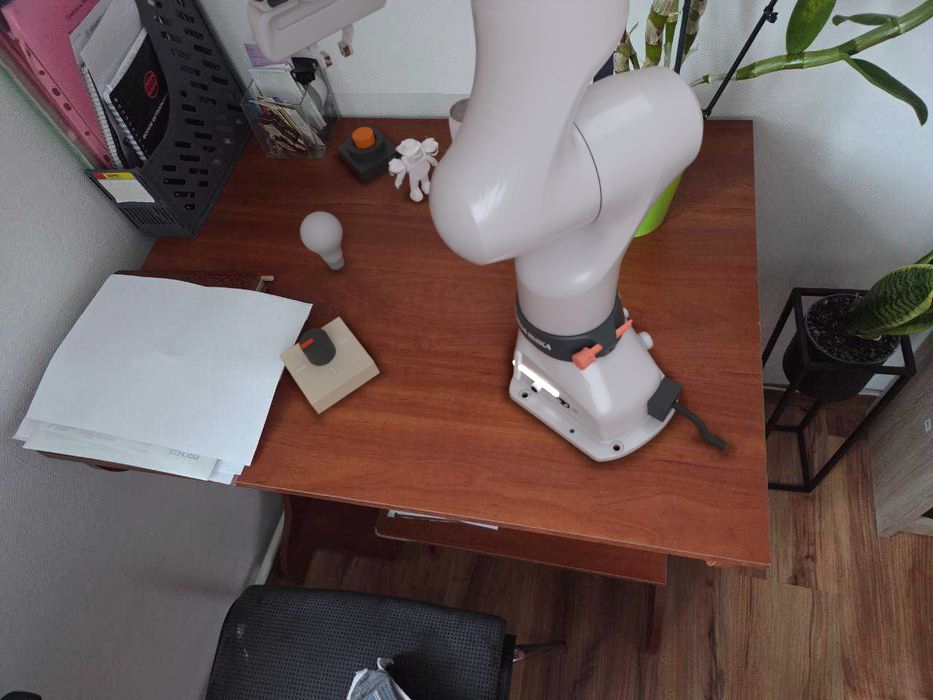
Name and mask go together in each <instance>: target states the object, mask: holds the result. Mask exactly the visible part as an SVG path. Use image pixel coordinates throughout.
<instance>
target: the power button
mask: <svg viewBox="0 0 933 700" xmlns="http://www.w3.org/2000/svg"><path fill="white" fill-rule="evenodd" d="M352 133H353V134H352ZM352 133H351V134H352V137H353V140H354V143H355V145H356V147H357V148H361V149H363V148H368V147H370V146H371V145H373V144H374V143H375V137H374V134H373V131H372V129H371V127H370V128H369V126H361V127H358V128H356V129H355V130H354V131H353V132H352Z"/></svg>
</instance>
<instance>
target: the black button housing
mask: <svg viewBox="0 0 933 700" xmlns="http://www.w3.org/2000/svg"><path fill="white" fill-rule="evenodd" d="M368 127H369V126H368ZM369 128H371V129H372V131H373V134H374V137H375V143H374V144H373V145H371V146H370V147H368V148H363V149H361V148H357V147H356V145H355V143H354V140H353V137H352V134H353V132H352V133H351V134H350V135H349V136H348V138H347V139H346V141H344V142H343V143H340V144H339V145H337V146H336V150H337V154H338V156H339V157H340V159H341V160H342V161H343V162H344V164H346V165H347V166H348V167H349V168H350V169H351V170H352V171H353V172H354V173H355V174H356V175H357V176H358V177H359V179H361V180H362V181H363V183H365V182H367V181H369V180H370V179H372V178H373V177H376V176H377V175H379V174H380V173H382V172H384V171H386V170H387V169H389V166H390V165H389V164H388V163H389V162H390V161H392V159H394V158H395V159H400V160H401V157H402V156H403V155H402V154H400V153H399V152H398V151H397V150H398V149H397V150H396V148H398V147H397V146H396V145H395V144H394V143H393V142H392V141H391V140H389V139H388V137H386V136H385V134H384V133H383V132H382V131H381V130H380V129H378V128H377V127H375V126H374V125H371V127H369ZM390 158H391V159H390Z"/></svg>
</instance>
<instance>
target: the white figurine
mask: <svg viewBox="0 0 933 700" xmlns="http://www.w3.org/2000/svg"><path fill="white" fill-rule="evenodd" d="M396 147H397V148H396V150H397V149H398V150H397V151H398V152H399V153H400V154H401V156H402V157H401V160H400V159H395V158H394V159H392V161H390V162H389V163H388V164H389V165H390V166H389V168H388V172H389V174H390V176H393V177H394V175H395V174H396V178H395V180H394V186H395V187H396V189H400V187H401V186H402V184H403V180H404V178H405V176H406V174H407V173H408V176H409V178H408V179H409V188H410V193H409V197H410V199H411V200H413V201H414V202H420V201H422V200H423V199H424V195H423V194H425V195H429V188H430V182H431V180H429V175H428V174H429V171H430V169H431V166H433V167H434V168H435V167H436V165H437V164H438V163H439V162H438V160H437V159H436V158H435V156H437V155H438V153H439V142H437V141H435V138H434V137H428V138H427V137H426V139H424V140H423V141H422V142H420V141H418V140H417V139H414V138H406V139H404V140H401V143H400V144H399V145H398V146H396ZM435 151H436V152H435ZM434 152H435V153H434ZM390 159H391V158H390ZM419 181H420V182H419ZM419 183H421V189H420V186H419ZM422 192H424V193H422Z"/></svg>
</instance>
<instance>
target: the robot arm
mask: <svg viewBox="0 0 933 700" xmlns="http://www.w3.org/2000/svg"><path fill="white" fill-rule="evenodd" d="M469 1H470V11H471V16H472V24H473V33H474V45H475V61H474V73H473V79H472V81H473V82H472V86H471V89H470V95H469V97H468V98H469V102H468V106H467V109H466V112H465V115H464V118H463V121H462V123H461V125H460V128H459V130H458V132H457V135H456V136H455V138H454V140H453V142H452V141H451V144H450V145H449V147H448V149H447V150H446V152H445V153H444V155H443V156H442V158H441V159H440V160H439V161H438V162H437V163H438V164H437V165H436V167H435V166H434V168H433V172H432V175H431V177H430V188H429V194H428V207H429V212H430V217H431V220H432V223H433V225H434V228H435V230H436V232H437V234H438V236H439V237H440V238H441V240H442V242H444V244H445V245H446V247H448V248H449V249H450V250H451V251H452V252H453V253H454V254H456V255H457V256H459V257H460V258H462V259H463V260H466V261H467V262H468V263H471V264H473V265H477V266H487V265H491V264H494V263H500V262H503V261H507V260H511V259H514V271H515V278H516V288H517V289H516V291H515V299H514V301H515V302H514V314H515V317H516V318H515V319H516V322H517V326H518V330H517V337H516V343H515V347H514V350H513V355H512V364H513V365H512V366H513V374H512V378H511V380H510V383H509V386H508V395H509V397H510V399H511V400H512V401H513V402H515V403H517V405H519V406H520V407H522V408H523V409H524V410H525V411H527V412H528V413H530V414H531V415H533V416H534V417H535V418H537V419H538V420H540V421H541V422H542V423H543V424H545V425H546V426H547V427H549V428H550V429H551V430H553V431H554V432H555V433H557V434H558V435H559V436H560V437H562V438H564V440H566V441H568V442H569V443H570V444H572V445H573V446H574V447H576V448H577V449H578V450H580V451H581V452H582V453H584V454H585V455H587V456H588V457H589V458H590V459H592V460H593V461H595V462H601V463H602V462H611V461H614V460H618V459H620V458H623V457H626V456H628V455H630V454H631V453H634V452H635V451H637V450H638V449H640V448H642V447H643V446H645V445H646V444H647V443H648V442H650V441H651V440H652V439H653V438H654V437H656V436H657V435H658V434H659V433H660V432H661V431H662V430H663V429H664V428H665V427H666V426H667V424H668V423H669V422H670V421H671V419H672V417H673V416H674V414H675V412H677V413H678V414H680V415H682V416H683V417H685V418H686V419H687V420H689V421H690V422H691V423H692V424H693V425H695V426H696V428H697V429H698V431H699V434H700V435H701V437H702V438H703V439H704V440H705V441H706V442H707V443H709V444H711V445H712V446H714V447H716V448H718V449H720V450H722V451H723V450H724V449H725V448H726V446H727V445H728V443H727V442H726V441H723V440H721V439H719V438H717V437H715V436H714V435H712V434H711V433H710V432H709V429H708V426H707V425H706V423H705V422H704V421H703V420H702V419H701V418H700V417H699V416H698V415H697V414H695V413H694V412H693V411H692V410H690V409H688V408H687V407H685V405H682V403H680V402H679V398H680V396H681V393H682V390H683V387H684V385H682V384H681V383H678V382H676V381H675V380H673V379H671V378H669V377H667V376H666V375H665V374H664V373H663V371H662V370H661V369H660V367H659V366H658V365H657V363H656V362H655V360H654V359H653V356H651V354H650V352H649V350H650V349H652V348H653V347H654V342H653V339H652V337H651V335H650V334H649V333H648V332H647V331H641V332H639V333H637V332H636V331H635V329H634V327H633V319H632V318H631V319H629V320H628V317H629V316H630V315H629V311H628V310H627V308H625V307H623V304H622V301H621V293H620V292H619V290H618V282H619V278H620V277H619V276H620V271H621V266H622V262H623V259H624V258H625V257H624V256H625V254H626V252H627V250H628V248H629V247H630V245H631V243H632V241H633V240H634V237H635V236H636V234H637V233H638V231H639V229H640V228H641V226H642V224H643V223H644V221H645V219H646V218H647V216H649V215H648V214H649V213H650V212H651V210H652V209H653V207H654V206H655V204H656V203H657V202H658V201H659V199H660V198H661V196H662V195H663V194H664V192H665V191H666V190H667V189H668V187H669V186H670V185H672V183H673V182H674V181H675V180H676V179H677V178H678V177H679V176H680V175H681V174H682V173H683V172H684V171H685V170H686V169H687V168H688V167H689V166H690V165H691V164H692V163H693V162H694V161H695V159H696V158H697V157H698V155H699V153H700V150H701V146H702V143H703V136H704V117H703V111H702V107H701V104H700V101H699V98H698V97H697V94H696V93H695V91H694V89H693V88H692V86H691V85H690V84H689V83H688V82H687V80H686V79H684V78H683V76H681V75H680V74H679V73H677V72H676V71H674V70H673V69H671V68H669V67H666V66H664V65H663V66H662V65H654V66H648V67H643V68H637V69H632V70H628V71H624V72H620V73H615V74H614V73H613V74H612V75H607V76H605V77H603V78H601V79H599V80H597V81H594V82H592V81H593V80H594V78H595V77H596V75H597V74H598V73H599V71H601V69H602V68H603V66H604V65H605V64H606V63H607V62H608V61H609V59H610V58H611V56H612V55H613V54H614V52H615V51H616V49H617V47H618V46H619V44H620V43H621V40H622V38H623V36H624V34H625V30H626V28H627V25H628V20H629V16H630V0H469ZM386 3H387V0H248V2H247V6H246V15H247V22H248V24H249V27H250V31H251V33H252V36H253V38H254V41H255V44H256V46H257V48H258V50H259V52H260V54H261V55H262V56H263V57H264V58H265V59H266V60H267V61H269V62H271V63H273V64H279V63H281V62H282V61H285V60H286V59H288V58H290V57H292V56H293V55H296V54H297V53H299V52H301V51H303V50H305V49H306V50H308V51H309V52H310V53H311V54H313V55H314V56H315V57H316V59H317V62H318V65H319V66H320V68H322V69H323V70H325V69H327V68H329V67H331V66H333V62H332V61H331V56H330V54H329V53H327V52H326V51H325V50H321V51H319V50H318V49H319V48H320V47H319V45H318V43H319V42H321V41H322V40H324V39H326V38H328V37H330V36H332V35H333V34H335V33H338V32H339V31H341V40H340V41H339V42H337V43H336V44H337V46H338V48H339V53H340V54H341V56H343V57H344V58H348V57H349V56H351V55H353V54H354V49H353V46H352V43H353V37H354V33H355V28H354V25H353V24H355V23H356V22H359V21H360V20H362V19H365V18H366V17H368V16H370V15H371V14H373V13H376V12H377V11H379V10H381V9H383V8H384V7H385V6H386ZM591 82H592V83H591ZM524 395H525V396H527V397H523V396H524ZM616 447H617V448H618V449H619V450H615V449H614V448H616Z"/></svg>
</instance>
